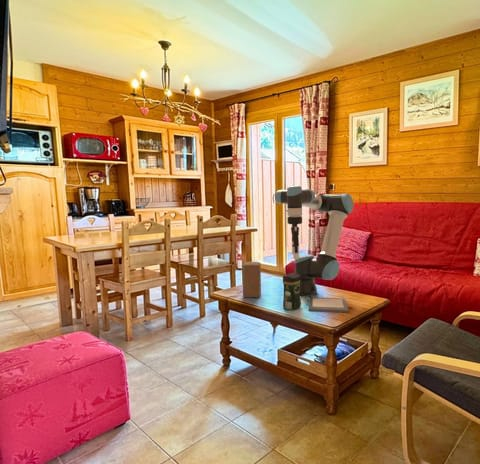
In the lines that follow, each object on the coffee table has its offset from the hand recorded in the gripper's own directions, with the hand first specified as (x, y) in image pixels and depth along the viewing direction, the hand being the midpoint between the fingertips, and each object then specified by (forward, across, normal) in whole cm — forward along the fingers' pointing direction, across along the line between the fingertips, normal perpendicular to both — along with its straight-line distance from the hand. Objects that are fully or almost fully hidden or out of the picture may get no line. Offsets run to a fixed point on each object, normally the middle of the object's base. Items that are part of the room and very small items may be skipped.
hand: (295, 256), depth 183 cm
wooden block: (+28, -23, -25) cm, 44 cm away
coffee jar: (+28, -2, -2) cm, 29 cm away
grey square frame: (+28, -5, +17) cm, 34 cm away
